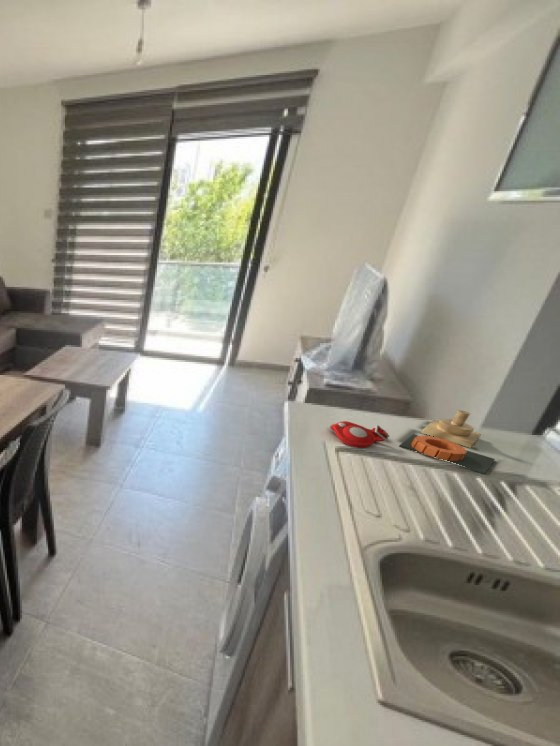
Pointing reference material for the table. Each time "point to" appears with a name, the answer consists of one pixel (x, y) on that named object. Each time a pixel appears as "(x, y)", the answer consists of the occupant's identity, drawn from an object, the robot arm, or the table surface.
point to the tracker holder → (358, 434)
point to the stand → (454, 430)
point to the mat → (469, 460)
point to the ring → (439, 448)
